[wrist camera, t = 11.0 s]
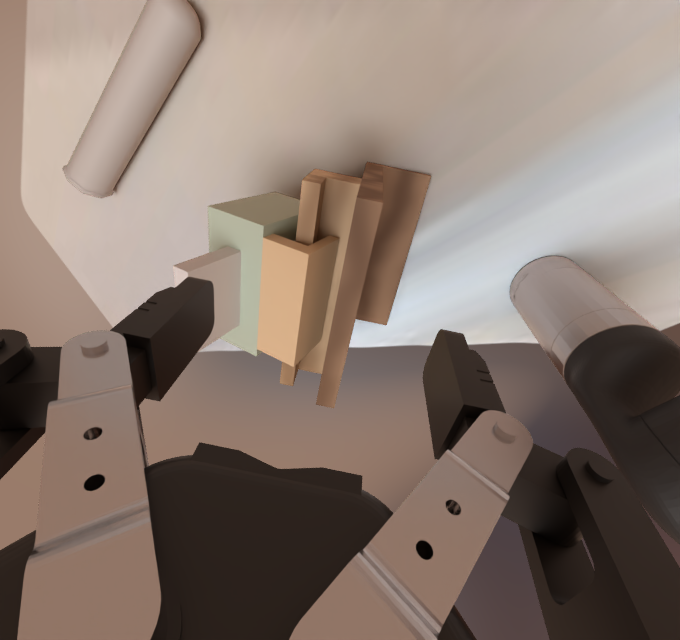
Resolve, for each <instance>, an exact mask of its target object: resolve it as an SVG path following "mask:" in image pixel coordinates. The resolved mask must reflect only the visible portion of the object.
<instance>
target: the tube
mask: <svg viewBox="0 0 680 640" xmlns="http://www.w3.org/2000/svg"><path fill="white" fill-rule="evenodd" d="M200 40H201V31H200V23H199V19H198V16H197V13H196V12H195V11H194V9H193V8H192V7H191V5H190V4H189V3H188V1H187V0H147V2H146V4H145V6H144V8H143V10H142V12H141V14H140V16H139V19H138V21H137V23H136V25H135V27H134V29H133V31H132V33H131V35H130V37H129V39H128V41H127V43H126V45H125V47H124V49H123V51H122V53H121V56H120V58H119V60H118V62H117V64H116V66H115V68H114V70H113V72H112V74H111V76H110V78H109V80H108V82H107V84H106V86H105V88H104V90H103V93H102V95H101V97H100V99H99V101H98V103H97V105H96V107H95V109H94V111H93V113H92V115H91V117H90V119H89V121H88V123H87V125H86V127H85V130H84V132H83V134H82V136H81V138H80V140H79V142H78V144H77V146H76V148H75V150H74V152H73V154H72V156H71V158H70V160H69V162H68V164H67V165H66V166H64V167H63V168H62V169H63V171H64V174H65V176H66V179H67V181H68V182H69V183H70V184H72V185H73V186H74V187H75V188H77V189H78V190H79V191H80V192H82V193H83V194H86V195H90V196H94V197H98V198H104V197H107V196H111V195H113V193H114V192H113V188H114V187H115V185H116V183H117V181H118V180H119V178H120V176H121V175H122V173H123V171H124V169H125V168H126V166H127V164H128V163H129V161H130V159H131V157H132V156H133V154H134V152H135V151H136V149H137V147H138V145H139V144H140V142H141V140H142V139H143V137H144V135H145V134H146V132H147V130H148V128H149V127H150V125H151V123H152V122H153V120H154V118H155V116H156V115H157V113H158V111H159V110H160V108H161V106H162V104H163V103H164V101H165V99H166V98H167V96H168V94H169V93H170V91H171V89H172V87H173V86H174V84H175V82H176V81H177V79H178V77H179V75H180V74H181V72H182V70H183V69H184V67H185V65H186V63H187V62H188V60H189V58H190V57H191V55H192V53H193V51H194V50H195V48H196V46H197V45H198V43H199V41H200Z"/></svg>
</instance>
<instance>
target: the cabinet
mask: <svg viewBox="0 0 680 640" xmlns="http://www.w3.org/2000/svg"><path fill="white" fill-rule="evenodd" d="M299 205H300V200H299V199H296V198H293V197H290V196H287V195H283V194H280V193H277V192H272V193H267V194H263V195H258V196H253V197H248V198H244V199H239V200H234V201H229V202H224V203H220V204H215V205H210V206H208V227H209V253H208V254H205V255H202V256H199V257H196V258H193V259H191V260H188V261H185V262H182V263H179V264H177V265H174V266H173V270H174V280H175V287H177V286H178V285H179V284H180V283H181V282H182V281H183V280H185V279H186V278H187V277H195V278H199V279H204V280H209V281H212V283H213V286H214V315H215V320H214V326H213V330H212V332H211V334H210V336H209V337H208V339H207V340H206V341H205V343H204V344H203V345H202V347H201V348H200V349H199V351H200V350H202V349H203V348H205V347H206V346H208V345H209V344H211V343H212V342H214V341H216V340H217V339H219V338H220V339H222V340H224V341H226V342H228V343H230V344H232V345H234V346H236V347H238V348H240V349H242V350H245V351H247V352H249V353H251V354H253V355H255V356H258V355H259V354H260V353H262V352H264V353H266V354H268V355H270V356H272V357H274V358H276V359H278V360H280V361H282V362H284V363H286V364H288V365H290V366H292V367H294V366H295V365H296V364H297V363H298V362H299V361H301V360H302V359H303V358H304V357H305V356H306V355H307V354H308V353H309V352H310V351H311V350H312V349H313V348H314V347H315V346H316V345H317V344H318V343H319V342H320V341H321V336H322V331H323V325H324V320H325V314H326V308H327V303H328V297H329V292H330V286H331V281H332V275H333V270H334V264H335V258H336V253H337V247H338V242H339V238H336V237H333V236H327V237H325V238H323V239H321V240H319V241H317V242H315V243H313V244H311V245H309V246H306V245H303V244H301V243H298V242H295V241H296V232H297V223H298V214H299Z"/></svg>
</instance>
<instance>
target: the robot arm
mask: <svg viewBox="0 0 680 640" xmlns="http://www.w3.org/2000/svg"><path fill="white" fill-rule="evenodd" d="M510 298H511V301H512V303H513V305H514V306H515V308H516V309H517V311H518V312H519V314H520V315H521V317H522V318H523V320H524V321H525V323H526V324H527V326H528V327H529V329H530V330H531V332H532V333H533V335H534V336H535V338H536V339H537V341H538V342H539V344H540V345H541V347H542V348H543V349H544V351H545V352H546V354H547V355H548V357H549V358H550V360H551V361H552V363H553V364H554V366H555V367H556V369H557V370H558V372H559V373H560V375H561V376H562V378H563V379H564V381H565V382H566V384H567V385H568V387H569V388H570V389H571V391H572V392H573V394H574V395H575V397H576V399H577V401H578V402H579V404H580V405H581V407H582V408H583V410H584V411H585V413H586V414H587V416H588V417H589V419H590V421H591V422H592V424H593V425H594V427H595V429H596V431H597V432H598V434H599V436H600V437H601V439H602V441H603V443H604V445H605V446H606V448H607V450H608V452H609V453H610V455H611V457H612V459H613V461H614V462H615V464H616V466H617V467H615V466H614V465H613V464H612V463H611V462H609V461H608V460H607V459H605V458H604V457H602V456H601V455H599V454H597V453H595V452H593V451H590V450H587V449H582V448H574V449H571V450H570V451H569V452H568V453H567V454H566V456H565V457H562V456H560V455H557V454H555V453H553V452H551V451H549V450H546V449H544V448H542V447H540V446H537V445H536V444H534V443H533V440H532V437H531V435H530V433H529V431H528V430H527V429H526V427H525V426H524V425H523V424H521V423H520V422H519V421H518V420H517V419H515V418H513V417H512V416H510V415H508V414H506V412H505V409H504V407H503V404H502V402H501V399H500V397H499V394H498V392H497V390H496V387H495V385H494V384H493V380H492V377H491V375H489V373H490V372H489V370H488V368H487V366H486V363H485V361H484V360H483V359H482V358H481V356H480V355H479V354H478V353H477V352H476V351H474V350H469V348H468V345H467V342H466V340H465V337H464V335H463V334H462V333H457V332H452V331H447V330H443V329H441V330H440V331H439V332H438V334H437V336H436V338H435V341H434V343H433V346H432V349H431V351H430V354H429V356H428V358H427V361H426V363H425V367H424V371H423V384H424V391H425V397H426V404H427V410H428V417H429V424H430V430H431V437H432V444H433V450H434V457H435V459H438V461H437V463H436V464H435V465H434V466H433V467H432V469H431V470H430V471H429V472H428V473H427V474H426V476H425V477H424V478H423V479H422V480H421V482H420V483H419V484H418V485H417V486H416V488H415V489H414V490H413V491H412V492H411V494H410V495H409V496H408V497H407V498H406V500H405V501H404V502H403V503H402V504H401V505H400V507H399V508H398V509H397V510H396V511H395V513H393V512H392V511H391V510H390V509H389V508H388V507H387V506H386V505H385V504H383V503H382V502H381V501H380V500H378V499H377V498H375V497H374V496H372V495H371V494H369V493H368V492H366V491H364V490H362V476H361V475H356V474H351V473H346V472H341V471H336V470H331V469H327V468H301V469H300V468H299V469H277V468H274V467H272V466H270V465H268V464H266V463H264V462H262V461H260V460H258V459H256V458H254V457H252V456H250V455H247V454H246V453H243V452H241V451H239V450H234V449H229V448H224V447H219V446H214V445H209V444H205V443H199V445H198V446H197V448H196V450H195V452H194V454H193V455H188V456H180V457H175V458H171V459H166V460H163V461H160V462H158V463H155V464H152V465H150V466H149V463H148V457H147V452H146V445H145V439H144V433H143V427H142V421H141V414H140V408H139V405H140V404H141V402H142V401H143V400H144V398H146V399H151V400H156V401H160V400H161V399H162V398H163V397H164V395H165V394H166V393H167V391H168V390H169V389H170V387H171V386H172V384H173V383H174V382H175V381H176V379H177V378H178V377H179V375H180V374H181V373H182V372H183V370H184V369H185V368H186V366H187V365H188V364H189V362H190V361H191V360H192V358H193V357H194V356H195V354H196V353H197V352H198V351H199V349H200V348H201V347H202V345H203V344H204V343H205V341H206V340H207V339H208V337H209V336H210V334H211V332H212V330H213V326H214V320H215V315H214V286H213V283H212V281H209V280H204V279H199V278H195V277H187V278H186V279H185V280H183V281H182V282H181V283H180V284H179V285H178V286H177V287H175V288H173V287H170V288H167V289H164V290H162V291H159V292H157V293H155V294H154V295H153V296H152V297H150V298H149V299H148V300H147V301H146V303H145V302H144V303H143V304H142V305H141V306H139V307H138V309H136V310H134V311H133V312H132V313H131V314H130V315H128V316H127V317H126V318H125V319H123V320H122V321H121V322H120V323H118V324H117V325H116V326H115V327H114V328H112V329H111V330H110V331H92V332H87V333H83V334H81V335H78V336H76V337H74V338H72V339H70V340H69V341H67V342H66V343H65V344H64V345H63V347H30V344H29V342H28V339H27V337H26V335H25V334H23V333H22V332H19V331H15V330H3V329H2V330H0V479H1V478H2V477H3V476H4V475H5V474H6V473H7V472H8V471H9V470H10V469H11V468H12V467H13V466H14V465H15V464H16V462H17V461H18V460H19V459H20V458H21V457H22V456H23V455H24V454H25V453H26V452H27V451H28V450H29V449H30V448H31V447H32V446H33V445H34V444H35V443H36V442H37V440H38V439H39V438H40V437H41V436H42V435H43V434H44V433H45V442H44V443H45V444H44V452H43V453H44V454H43V463H42V475H41V485H40V497H39V507H38V517H37V529H36V530H35V531H33V532H31V533H30V534H28V535H26V536H24V537H23V538H21V539H19V540H17V541H16V542H14V543H12V544H10V545H9V546H7V547H5V548H4V549H2V550H0V640H477V639H476V638H475V636H474V635H473V633H472V632H471V630H470V629H469V627H468V626H467V624H466V622H465V621H464V619H463V618H462V616H461V615H460V613H459V612H458V610H457V608H456V607H455V605H454V603H455V601H456V599H457V597H458V595H459V593H460V592H461V590H462V588H463V586H464V584H465V582H466V580H467V578H468V576H469V574H470V573H471V571H472V569H473V567H474V565H475V563H476V561H477V559H478V557H479V555H480V553H481V552H482V550H483V548H484V546H485V544H486V542H487V540H488V538H489V536H490V534H491V532H492V530H493V529H494V527H495V525H496V523H497V521H498V519H499V517H500V515H502V516H504V517H506V518H508V519H509V520H511V521H513V522H515V523H517V524H518V525H519V529H520V533H521V536H522V540H523V544H524V547H525V551H526V555H527V558H528V562H529V566H530V569H531V573H532V577H533V580H534V584H535V587H536V591H537V595H538V599H539V602H540V605H541V610H542V613H543V617H544V620H545V624H546V628H547V632H548V635H549V639H550V640H680V568H679V566H678V564H677V562H676V561H675V559H674V557H673V556H672V554H671V553H670V551H669V549H668V548H667V546H666V544H665V543H664V541H663V539H662V538H661V536H660V534H659V533H658V531H657V529H656V528H655V526H654V524H653V523H652V521H651V519H650V518H649V516H648V515H647V513H646V511H647V512H648V513H649V515H650V516H651V517H652V518H653V519H654V521H655V522H656V523H657V524H658V525H659V526H660V527H661V528H662V529H663V530H664V531H665V532H666V533H667V534H668V535H669V536H670V537H671V538H673V539H674V540H675V541H676V542H677V543H678V544H680V396H677V397H675V396H676V395H677V394H678V393H679V391H680V347H679V346H677V345H676V344H675V343H674V342H673V341H672V340H671V339H669V338H668V337H667V336H666V335H664V334H663V333H662V332H661V331H659V330H658V329H657V328H656V327H654V326H653V325H652V324H651V323H649V322H648V321H647V320H646V319H644V318H643V317H642V316H640V315H639V314H638V313H636V312H635V311H634V310H633V309H631V308H630V307H629V306H628V305H626V304H625V303H624V302H623V301H622V300H620V299H619V298H618V297H617V296H615V295H614V294H613V293H612V292H610V291H609V290H608V289H607V288H605V287H604V286H603V285H602V284H600V283H599V282H598V281H597V280H595V279H594V278H593V277H592V276H590V275H589V274H588V273H587V272H585V271H584V270H583V269H582V268H580V267H579V266H578V265H577V264H575V263H574V262H573V261H572V260H569V259H567V258H565V257H560V256H548V257H543V258H540V259H537V260H534V261H533V262H531V263H529V264H527V265H526V266H525V267H523V268H522V269H521V270H520V271H519V272H518V273H517V275H516V276H515V278H514V279H513V281H512V284H511V287H510ZM674 397H675V398H674ZM642 505H643V506H642ZM643 507H644V508H645V509H646V511H645V509H644V508H643ZM582 538H584V540H585V543H586V545H587V547H588V550H589V552H590V554H591V557H592V560H593V563H594V569H595V571H594V569H593V567H592V564H591V562H590V559H589V557H588V555H587V552H586V550H585V547H584V545H583V542H582V540H581V539H582Z"/></svg>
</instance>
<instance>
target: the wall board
mask: <svg viewBox="0 0 680 640" xmlns="http://www.w3.org/2000/svg"><path fill="white" fill-rule="evenodd" d="M430 179H431V175H428V174H423V173H418V172H413V171H408V170H404V169H399V168H394V167H389V166H385V165H380V164H375V163H370V162H367V163H366V166H365V170H364V173H363V177H362V179H361V178H357V177H352V176H347V175H342V174H338V173H333V172H328V171H323V170H318V169H314V170H313V171H312V172H311V173H310V174H308V175H307V176H306V177H305V178H304V179H303V180H302V186H301V196H300V205H299V214H298V223H297V232H296V241H295V242H298V243H301V244H303V245H306V246H309V245H311V244H313V243H315V242H317V241H319V240H321V239H323V238H325V237H327V236H333V237H336V238H339V242H338V247H337V253H336V258H335V264H334V270H333V275H332V281H331V286H330V292H329V297H328V303H327V308H326V314H325V320H324V325H323V331H322V336H321V341H320V342H319V343H318V344H317V345H316V346H315V347H314V348H313V349H312V350H311V351H310V352H309V353H308V354H307V355H306V356H305V357H304V358H303V359H302V360H301V361H299V362H298V363H297V364H296V365H295V366H294V367H292V366H290V365H288V364H286V363H284V362H282V369H281V378H280V384H285V385H290V386H293V384H294V381H295V378H296V375H297V372H298V369H301V370H305V371H310V372H315V373H320V374H322V376H321V381H320V386H319V392H318V396H317V402H316V404H317V405H321V406H326V407H331V408H334V406H335V402H336V398H337V393H338V389H339V385H340V381H341V377H342V372H343V369H344V364H345V360H346V356H347V352H348V348H349V343H350V339H351V335H352V331H353V327H354V323H355V319H359V320H363V321H368V322H373V323H378V324H383V325H387V321H388V318H389V315H390V311H391V308H392V305H393V302H394V298H395V295H396V292H397V288H398V285H399V282H400V278H401V275H402V272H403V268H404V265H405V262H406V258H407V255H408V252H409V248H410V245H411V242H412V238H413V235H414V232H415V229H416V225H417V222H418V219H419V215H420V212H421V209H422V205H423V202H424V199H425V195H426V192H427V189H428V185H429V182H430Z"/></svg>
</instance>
